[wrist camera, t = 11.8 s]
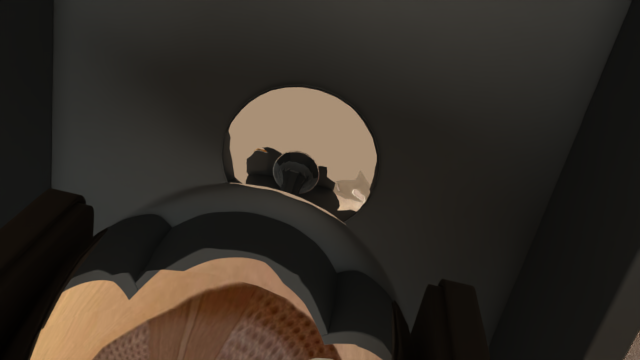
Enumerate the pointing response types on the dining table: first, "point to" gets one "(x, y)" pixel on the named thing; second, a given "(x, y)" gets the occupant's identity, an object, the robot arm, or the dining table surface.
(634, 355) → the dining table surface
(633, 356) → the dining table surface
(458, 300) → the robot arm
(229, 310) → the wineglass
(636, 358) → the dining table surface
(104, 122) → the dish tub
